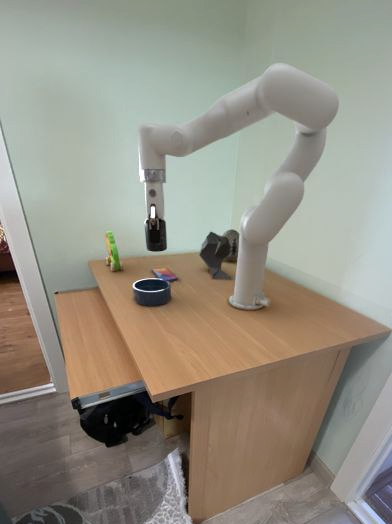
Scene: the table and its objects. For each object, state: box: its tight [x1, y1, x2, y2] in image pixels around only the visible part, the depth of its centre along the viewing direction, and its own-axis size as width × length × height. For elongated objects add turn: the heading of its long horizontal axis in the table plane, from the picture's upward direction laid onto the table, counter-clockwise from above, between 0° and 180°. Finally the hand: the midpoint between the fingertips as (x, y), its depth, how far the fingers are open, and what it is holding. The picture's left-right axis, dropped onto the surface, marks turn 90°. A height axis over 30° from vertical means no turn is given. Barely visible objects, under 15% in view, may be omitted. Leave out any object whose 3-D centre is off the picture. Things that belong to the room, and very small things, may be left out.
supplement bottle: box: [143, 215, 168, 253], centre depth 94 cm, size 7×7×12 cm
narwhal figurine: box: [199, 231, 233, 280], centre depth 128 cm, size 14×15×18 cm
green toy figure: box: [105, 231, 124, 272], centre depth 133 cm, size 16×5×15 cm, turn 25°
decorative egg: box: [221, 228, 240, 262], centre depth 145 cm, size 12×12×15 cm
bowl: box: [132, 277, 172, 307], centre depth 106 cm, size 13×13×6 cm
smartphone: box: [151, 266, 178, 282], centre depth 128 cm, size 7×15×1 cm, turn 23°
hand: (156, 239), depth 96 cm, fingers closed on supplement bottle, 6 cm apart
